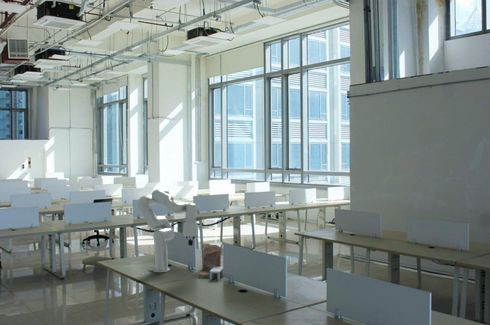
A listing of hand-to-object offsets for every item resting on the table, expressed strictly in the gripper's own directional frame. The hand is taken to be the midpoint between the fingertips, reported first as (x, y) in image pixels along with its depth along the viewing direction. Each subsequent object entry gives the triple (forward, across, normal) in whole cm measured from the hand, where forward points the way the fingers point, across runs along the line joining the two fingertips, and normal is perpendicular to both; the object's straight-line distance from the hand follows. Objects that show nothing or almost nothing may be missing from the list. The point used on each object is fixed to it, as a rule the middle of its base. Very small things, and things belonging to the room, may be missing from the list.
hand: (190, 245), depth 381 cm
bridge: (+22, +20, -1) cm, 30 cm away
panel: (+23, +14, 0) cm, 27 cm away
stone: (+23, +12, +18) cm, 31 cm away
